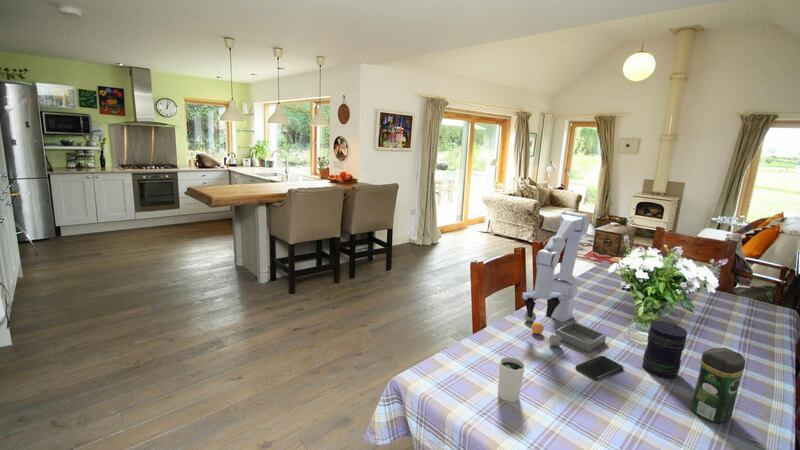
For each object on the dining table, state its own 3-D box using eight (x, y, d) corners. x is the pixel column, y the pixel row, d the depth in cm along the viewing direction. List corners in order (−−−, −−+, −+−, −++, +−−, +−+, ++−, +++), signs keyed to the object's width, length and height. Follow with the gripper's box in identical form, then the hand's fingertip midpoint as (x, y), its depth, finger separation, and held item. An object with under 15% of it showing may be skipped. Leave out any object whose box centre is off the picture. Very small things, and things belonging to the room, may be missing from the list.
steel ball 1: (527, 318, 158) (529, 308, 157) (537, 322, 155) (538, 312, 154) (521, 321, 156) (522, 311, 155) (531, 325, 152) (532, 315, 151)
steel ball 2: (552, 341, 141) (554, 330, 140) (563, 346, 137) (565, 335, 136) (545, 345, 138) (547, 333, 137) (557, 350, 135) (559, 339, 134)
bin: (571, 328, 152) (572, 321, 151) (604, 342, 142) (606, 334, 141) (554, 337, 144) (555, 329, 143) (588, 353, 134) (589, 344, 134)
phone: (625, 367, 125) (596, 379, 118) (624, 370, 126) (596, 382, 118) (602, 355, 132) (573, 365, 124) (601, 358, 132) (573, 369, 125)
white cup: (502, 384, 114) (506, 354, 112) (524, 394, 110) (528, 363, 108) (492, 395, 109) (495, 363, 107) (514, 406, 105) (519, 373, 103)
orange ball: (534, 329, 149) (536, 318, 148) (545, 334, 146) (546, 323, 145) (528, 332, 147) (529, 321, 146) (538, 337, 143) (540, 326, 142)
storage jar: (660, 381, 120) (670, 337, 117) (634, 363, 129) (642, 322, 126) (685, 377, 123) (695, 334, 120) (657, 360, 132) (666, 319, 129)
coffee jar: (703, 400, 112) (718, 341, 108) (736, 418, 105) (753, 356, 101) (683, 408, 108) (698, 347, 104) (715, 427, 101) (733, 363, 97)
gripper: (530, 286, 137) (525, 321, 140) (568, 286, 139) (562, 321, 142) (521, 279, 144) (517, 313, 147) (557, 279, 146) (552, 312, 149)
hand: (539, 316), depth 145 cm, fingers open, 7 cm apart
